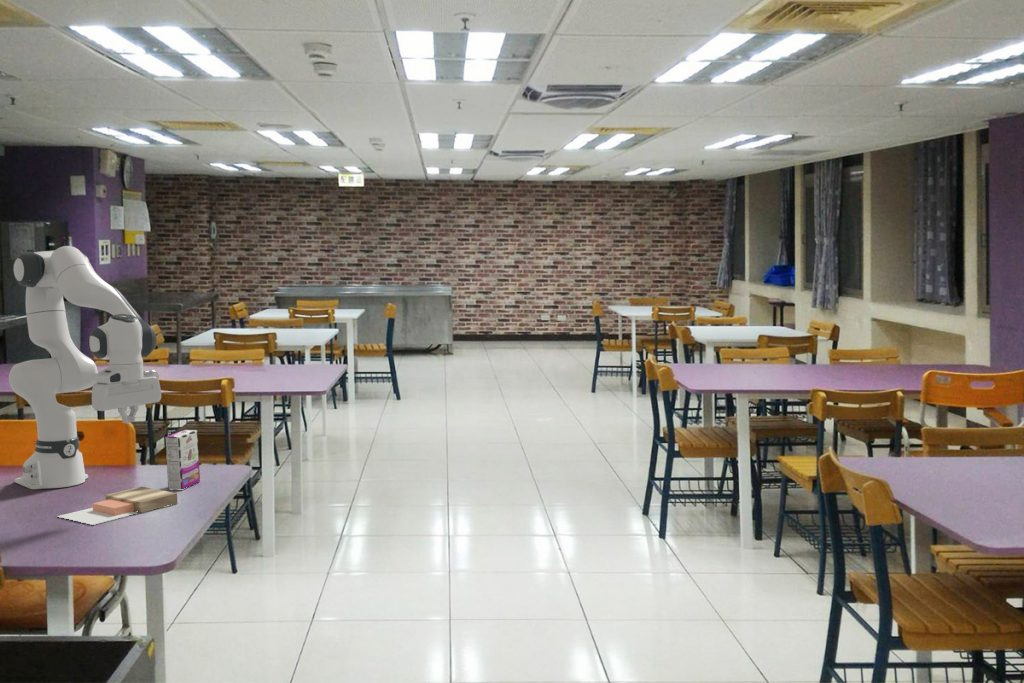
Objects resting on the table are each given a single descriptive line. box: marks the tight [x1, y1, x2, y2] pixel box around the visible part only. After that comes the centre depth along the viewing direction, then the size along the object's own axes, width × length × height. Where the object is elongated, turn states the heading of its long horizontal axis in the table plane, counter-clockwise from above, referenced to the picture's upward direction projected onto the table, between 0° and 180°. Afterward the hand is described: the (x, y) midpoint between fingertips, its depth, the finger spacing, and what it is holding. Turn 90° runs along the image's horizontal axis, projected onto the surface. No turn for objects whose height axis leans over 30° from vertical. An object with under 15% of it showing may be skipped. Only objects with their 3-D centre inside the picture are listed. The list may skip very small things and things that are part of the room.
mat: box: [56, 507, 138, 526], centre depth 283 cm, size 16×14×1 cm
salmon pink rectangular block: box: [92, 499, 134, 516], centre depth 287 cm, size 10×6×2 cm, turn 56°
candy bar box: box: [164, 429, 201, 490], centre depth 316 cm, size 11×5×16 cm, turn 168°
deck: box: [104, 486, 178, 513], centre depth 295 cm, size 16×12×3 cm
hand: (128, 422), depth 290 cm, fingers closed
